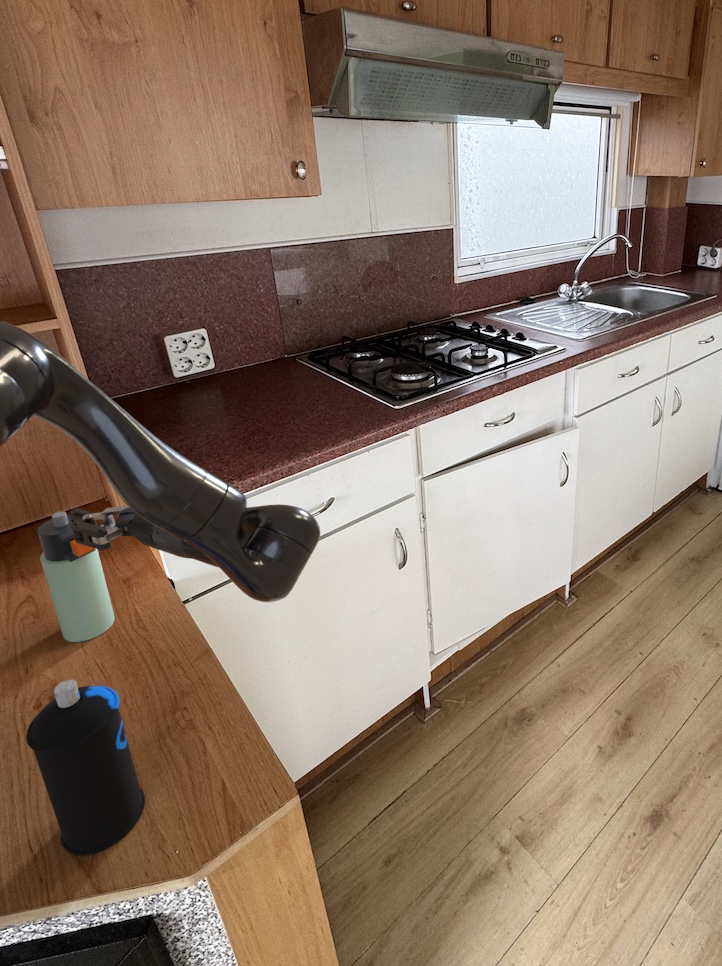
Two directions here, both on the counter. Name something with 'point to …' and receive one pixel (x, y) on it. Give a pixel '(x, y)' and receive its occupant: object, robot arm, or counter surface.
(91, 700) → the black bottle
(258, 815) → the counter surface
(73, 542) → the nozzle button
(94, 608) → the sports bottle
